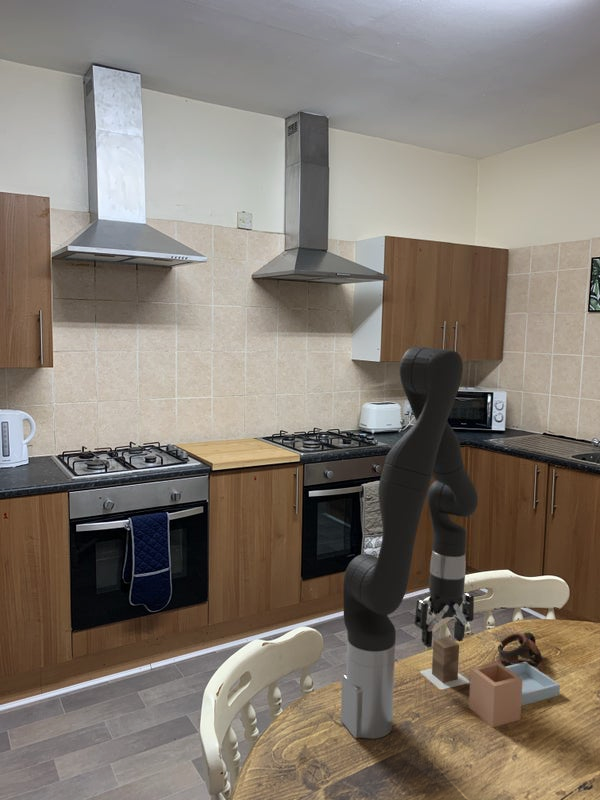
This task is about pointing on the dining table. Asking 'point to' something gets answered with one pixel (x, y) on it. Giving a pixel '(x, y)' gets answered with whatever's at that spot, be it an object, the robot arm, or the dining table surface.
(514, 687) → the terracotta pot
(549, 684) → the blue-grey tub
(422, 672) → the ceramic tile
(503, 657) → the dark brown looped piece
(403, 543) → the robot arm
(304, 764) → the dining table surface
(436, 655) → the walnut block
